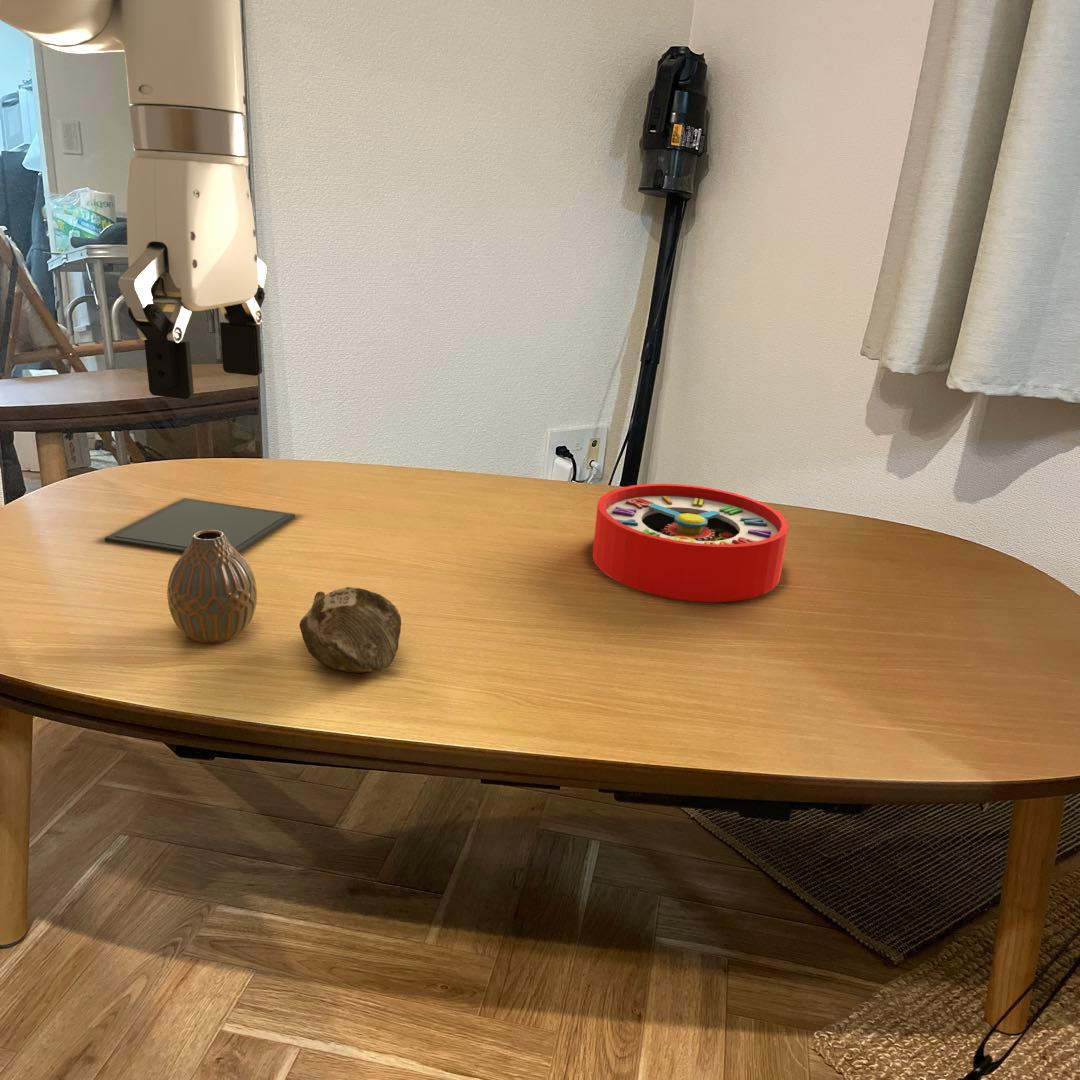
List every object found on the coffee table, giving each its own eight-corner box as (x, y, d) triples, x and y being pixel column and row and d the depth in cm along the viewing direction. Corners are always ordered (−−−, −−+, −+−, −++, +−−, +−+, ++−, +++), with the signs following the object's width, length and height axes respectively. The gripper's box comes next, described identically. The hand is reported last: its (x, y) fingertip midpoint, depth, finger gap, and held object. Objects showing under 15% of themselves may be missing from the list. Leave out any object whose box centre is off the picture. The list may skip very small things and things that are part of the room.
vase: (276, 629, 76) (272, 533, 73) (210, 660, 71) (203, 557, 68) (219, 607, 79) (213, 514, 76) (152, 636, 74) (143, 536, 71)
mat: (104, 542, 92) (104, 537, 92) (184, 502, 105) (184, 497, 104) (229, 561, 89) (228, 556, 89) (295, 518, 102) (295, 513, 102)
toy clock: (709, 562, 81) (558, 502, 95) (701, 620, 83) (554, 553, 97) (826, 522, 94) (678, 474, 108) (816, 573, 96) (672, 520, 110)
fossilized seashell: (303, 598, 77) (275, 673, 68) (341, 543, 74) (317, 614, 65) (379, 639, 79) (362, 716, 70) (419, 587, 76) (406, 661, 68)
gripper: (210, 145, 71) (225, 362, 77) (56, 127, 55) (90, 401, 61) (298, 150, 70) (306, 370, 76) (165, 132, 54) (189, 412, 60)
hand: (209, 384), depth 69 cm, fingers open, 9 cm apart
